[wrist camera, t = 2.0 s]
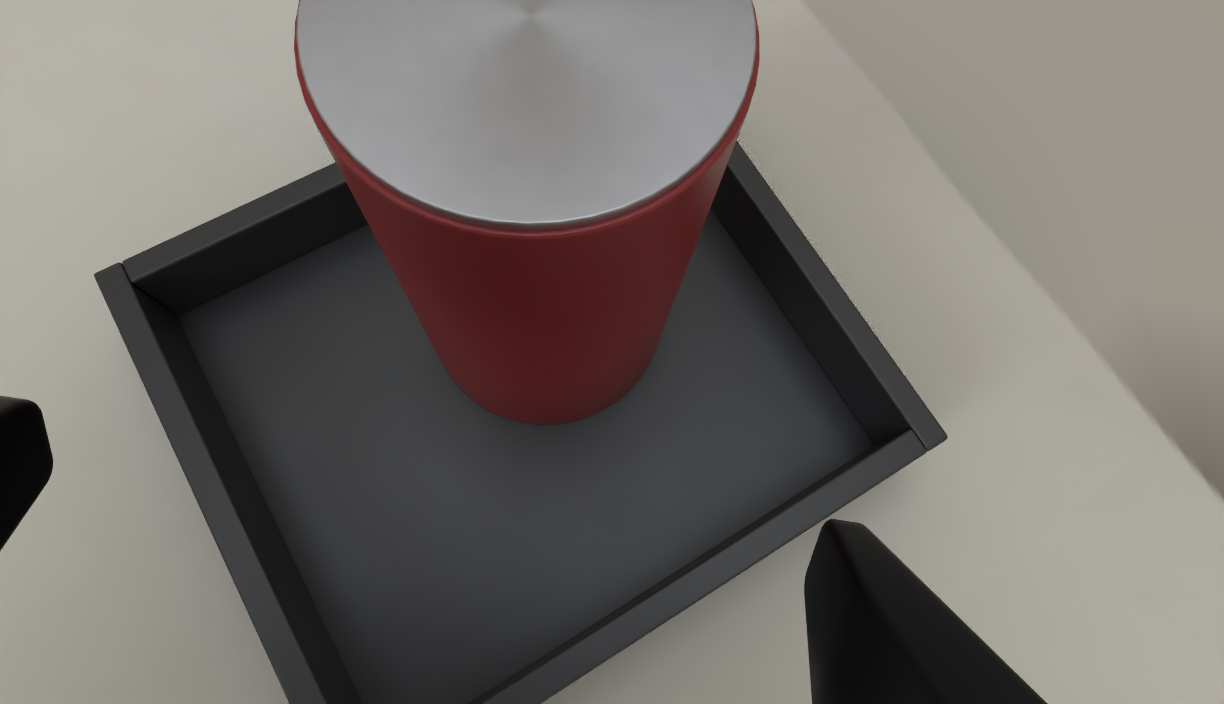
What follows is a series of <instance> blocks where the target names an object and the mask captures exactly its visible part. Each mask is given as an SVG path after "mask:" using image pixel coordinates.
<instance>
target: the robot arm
mask: <svg viewBox="0 0 1224 704" xmlns="http://www.w3.org/2000/svg"><path fill="white" fill-rule="evenodd" d="M52 468H53V457H52V453H51V448H50V444H49V440H48V436H47V432H46V428H45V423H44V419H43V415H42V412H41V409H40V408H39V407H38V405H37V404H36V403H34V402H32V401H30V400H25V399H19V398H12V397H5V396H0V551H1V549H2V548H3V546H4V545H5V543H6V542H7V540H8V539H9V538H10V536H11V535H12V533H13V532H14V530H15V529H16V527H17V526H18V524H19V523H20V522H21V520H22V519H23V517H24V516H25V514H26V513H27V511H28V510H29V508H30V507H31V506H32V504H33V503H34V501H35V500H36V498H37V497H38V495H39V494H40V493H41V491H42V490H43V488H44V487H45V485H46V484H47V482H48V480H49V478H50V476H51V473H52ZM804 595H805V609H806V623H807V637H808V651H809V665H810V679H811V693H812V704H1047V703H1046V702H1045V701H1044V700H1043V699H1042V698H1041V697H1040V696H1039V695H1038V694H1037V693H1036V692H1035V691H1034V690H1033V689H1032V688H1031V687H1030V686H1029V685H1028V684H1027V683H1026V682H1025V681H1024V680H1023V679H1022V678H1021V677H1020V676H1019V675H1018V674H1017V673H1016V672H1014V671H1013V670H1012V669H1011V668H1010V667H1009V666H1008V665H1007V664H1006V663H1005V662H1004V661H1003V660H1002V659H1001V658H1000V657H999V656H998V655H997V654H996V653H995V652H994V651H993V650H992V649H991V648H990V647H989V646H988V645H987V644H986V643H985V642H984V641H983V640H982V639H981V638H980V637H979V636H978V635H977V634H976V633H975V632H973V631H972V630H971V629H970V628H969V627H968V626H967V625H966V624H965V623H964V622H963V621H962V620H961V619H960V618H959V617H958V616H957V615H956V614H955V613H954V612H953V611H952V610H951V609H950V608H949V607H948V606H947V605H946V604H945V603H944V602H943V601H942V600H941V599H940V598H939V597H938V596H937V595H936V594H935V593H934V592H933V591H931V590H930V589H929V588H928V587H927V586H926V585H925V584H924V583H923V582H922V581H921V580H920V579H919V578H918V577H917V576H916V575H915V574H914V573H913V572H912V571H911V570H910V569H909V568H908V567H907V566H906V565H905V564H904V563H903V562H902V561H901V560H900V559H899V558H898V557H897V556H896V555H895V554H894V553H893V552H892V551H891V550H889V549H888V548H887V547H886V546H885V545H884V544H883V543H882V542H881V541H880V540H879V539H878V538H877V537H876V536H875V535H874V534H873V533H872V532H871V531H870V530H869V529H868V528H867V527H866V526H864V525H863V524H860V523H856V522H849V521H842V520H836V519H830V520H828V521H826V522H825V524H824V525H823V527H822V529H821V531H820V534H819V537H818V540H817V543H816V546H815V548H814V551H813V554H812V557H811V560H810V563H809V566H808V569H807V572H806V577H805V585H804Z"/></svg>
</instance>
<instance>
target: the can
mask: <svg viewBox="0 0 1224 704" xmlns="http://www.w3.org/2000/svg"><path fill="white" fill-rule="evenodd" d="M294 52H295V60H296V68H297V76H298V79H299V83H300V86H301V89H302V93H303V96H304V100H305V103H306V105H307V107H308V109H309V111H310V113H311V115H312V117H313V120H314V122H315V124H316V126H317V128H318V130H319V132H320V134H321V136H322V137H323V139H324V141H325V143H326V145H327V147H328V149H329V151H330V153H331V154H332V156H333V158H334V160H335V162H336V164H337V166H338V168H339V170H340V171H341V173H342V175H343V177H344V179H345V181H346V183H347V185H348V187H349V189H350V190H351V192H352V194H353V196H354V198H355V200H356V202H357V204H358V206H359V207H360V209H361V211H362V213H363V215H364V217H365V219H366V221H367V223H368V225H369V226H370V228H371V230H372V232H373V234H374V236H375V238H376V240H377V242H378V243H379V245H380V247H381V249H382V251H383V253H384V255H385V257H386V259H387V260H388V262H389V264H390V266H391V268H392V270H393V272H394V274H395V276H396V278H397V279H398V281H399V283H400V285H401V287H402V289H403V291H404V293H405V295H406V296H407V298H408V300H409V302H410V304H411V306H412V308H413V310H414V312H415V313H416V315H417V317H418V319H419V321H420V323H421V325H422V327H423V329H424V331H425V332H426V334H427V336H428V338H429V340H430V342H431V344H432V346H433V348H434V349H435V351H436V353H437V355H438V357H439V359H440V361H441V363H442V365H443V366H444V368H445V370H446V371H447V373H448V374H449V376H450V377H451V379H452V380H453V381H454V382H455V384H456V385H457V386H458V387H459V388H460V389H461V390H462V391H463V392H464V393H465V394H466V395H467V396H468V397H470V398H471V399H472V400H473V401H474V402H476V403H478V404H479V405H481V406H482V407H484V408H485V409H487V410H489V411H491V412H493V413H495V414H497V415H499V416H502V417H505V418H508V419H511V420H514V421H519V422H524V423H529V424H544V425H548V424H562V423H567V422H572V421H577V420H580V419H583V418H586V417H589V416H592V415H594V414H596V413H598V412H600V411H602V410H604V409H606V408H608V407H609V406H611V405H612V404H614V403H615V402H617V401H618V400H619V399H620V398H622V397H623V396H624V395H625V394H626V393H627V392H628V391H630V389H631V388H632V387H633V386H634V385H635V384H636V383H637V381H638V380H639V379H640V378H641V376H642V375H643V373H644V372H645V370H646V368H647V367H648V365H649V363H650V361H651V359H652V356H653V354H654V352H655V349H656V347H657V344H658V342H659V339H660V336H661V334H662V331H663V329H664V326H665V324H666V321H667V318H668V316H669V313H670V311H671V308H672V305H673V303H674V300H675V298H676V295H677V293H678V290H679V287H680V285H681V282H682V280H683V277H684V274H685V272H686V269H687V267H688V264H689V262H690V259H691V256H692V254H693V251H694V249H695V246H696V243H697V241H698V238H699V236H700V233H701V231H702V228H703V225H704V223H705V220H706V218H707V215H708V212H709V210H710V207H711V205H712V202H713V200H714V197H715V194H716V192H717V189H718V187H719V184H720V181H721V179H722V176H723V174H724V171H725V169H726V166H727V163H728V161H729V158H730V156H731V153H732V150H733V148H734V145H735V143H736V140H737V138H738V135H739V132H740V130H741V127H742V125H743V122H744V119H745V117H746V114H747V112H748V109H749V106H750V102H751V99H752V96H753V93H754V89H755V86H756V80H757V73H758V67H759V31H758V25H757V19H756V13H755V8H754V5H753V2H752V0H299V5H298V10H297V16H296V21H295V40H294Z"/></svg>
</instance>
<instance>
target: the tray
mask: <svg viewBox="0 0 1224 704" xmlns="http://www.w3.org/2000/svg"><path fill="white" fill-rule="evenodd" d="M94 277H95V279H96V281H97V283H98V286H99V288H100V290H101V292H102V294H103V297H104V299H105V301H106V303H107V305H108V307H109V310H110V312H111V314H112V316H113V318H114V321H115V323H116V325H117V327H118V329H119V332H120V334H121V336H122V338H123V340H124V342H125V345H126V347H127V349H128V351H129V353H130V356H131V358H132V360H133V362H134V364H135V367H136V369H137V371H138V373H139V375H140V377H141V380H142V382H143V384H144V386H145V388H146V391H147V393H148V395H149V397H150V399H151V402H152V404H153V406H154V408H155V410H156V412H157V415H158V417H159V419H160V421H161V423H162V426H163V428H164V430H165V432H166V434H167V437H168V439H169V441H170V443H171V445H172V447H173V450H174V452H175V454H176V456H177V458H178V461H179V463H180V465H181V467H182V469H183V471H184V474H185V476H186V478H187V480H188V482H189V485H190V487H191V489H192V491H193V493H194V496H195V498H196V500H197V502H198V504H199V506H200V509H201V511H202V513H203V515H204V517H205V520H206V522H207V524H208V526H209V528H210V531H211V533H212V535H213V537H214V539H215V541H216V544H217V546H218V548H219V550H220V552H221V555H222V557H223V559H224V561H225V563H226V566H227V568H228V570H229V572H230V574H231V576H232V579H233V581H234V583H235V585H236V587H237V590H238V592H239V594H240V596H241V598H242V601H243V603H244V605H245V607H246V609H247V611H248V614H249V616H250V618H251V620H252V622H253V625H254V627H255V629H256V631H257V633H258V636H259V638H260V640H261V642H262V644H263V646H264V649H265V651H266V653H267V655H268V657H269V660H270V662H271V664H272V666H273V668H274V670H275V673H276V675H277V677H278V679H279V681H280V684H281V686H282V688H283V690H284V692H285V695H286V697H287V699H288V701H289V703H290V704H541V703H542V702H544V701H545V700H547V699H548V698H550V697H551V696H553V695H555V694H556V693H558V692H559V691H561V690H562V689H564V688H565V687H567V686H568V685H570V684H571V683H573V682H575V681H576V680H578V679H579V678H581V677H582V676H584V675H585V674H587V673H588V672H590V671H591V670H593V669H595V668H596V667H598V666H599V665H601V664H602V663H604V662H605V661H607V660H608V659H610V658H611V657H613V656H615V655H616V654H618V653H619V652H621V651H622V650H624V649H625V648H627V647H628V646H630V645H631V644H633V643H635V642H636V641H638V640H639V639H641V638H642V637H644V636H645V635H647V634H648V633H650V632H651V631H653V630H655V629H656V628H658V627H659V626H661V625H662V624H664V623H665V622H667V621H668V620H670V619H671V618H673V617H675V616H676V615H678V614H679V613H681V612H682V611H684V610H685V609H687V608H688V607H690V606H691V605H693V604H694V603H696V602H698V601H699V600H701V599H702V598H704V597H705V596H707V595H708V594H710V593H711V592H713V591H714V590H716V589H718V588H719V587H721V586H722V585H724V584H725V583H727V582H728V581H730V580H731V579H733V578H734V577H736V576H738V575H739V574H741V573H742V572H744V571H745V570H747V569H748V568H750V567H751V566H753V565H754V564H756V563H758V562H759V561H761V560H762V559H764V558H765V557H767V556H768V555H770V554H771V553H773V552H774V551H776V550H778V549H779V548H781V547H782V546H784V545H785V544H787V543H788V542H790V541H791V540H793V539H794V538H796V537H798V536H799V535H801V534H802V533H804V532H805V531H807V530H808V529H810V528H811V527H813V526H814V525H816V524H818V523H819V522H821V521H822V520H824V519H825V518H827V517H828V516H830V515H831V514H833V513H834V512H836V511H838V510H839V509H841V508H842V507H844V506H845V505H847V504H848V503H850V502H851V501H853V500H854V499H856V498H858V497H859V496H861V495H862V494H864V493H865V492H867V491H868V490H870V489H871V488H873V487H874V486H876V485H878V484H879V483H881V482H882V481H884V480H885V479H887V478H888V477H890V476H891V475H893V474H894V473H896V472H898V471H899V470H901V469H902V468H904V467H905V466H907V465H908V464H910V463H911V462H913V461H914V460H916V459H918V458H919V457H921V456H922V455H924V454H925V453H926V452H927V451H930V450H931V449H933V448H934V447H936V446H937V445H939V444H940V443H942V442H944V441H945V440H946V439H947V438H948V437H947V434H946V433H945V432H944V430H943V429H942V427H941V426H940V425H939V423H938V422H937V420H936V419H935V418H934V416H933V415H932V413H931V412H930V411H929V409H928V408H927V406H926V405H925V404H924V402H923V401H922V399H921V398H920V397H919V395H918V394H917V392H916V391H915V390H914V388H913V387H912V385H911V384H910V383H909V381H908V380H907V378H906V377H905V376H904V374H903V373H902V371H901V370H900V369H899V367H898V366H897V364H896V363H895V362H894V360H893V359H892V357H891V356H890V355H889V353H888V352H887V351H886V349H885V348H884V346H883V345H882V344H881V342H880V341H879V339H878V338H877V337H876V335H875V334H874V332H873V331H872V330H871V328H870V327H869V325H868V324H867V323H866V321H865V320H864V318H863V317H862V316H861V314H860V313H859V311H858V310H857V309H856V307H855V306H854V304H853V303H852V302H851V300H850V299H849V297H848V296H847V295H846V293H845V292H844V290H843V289H842V288H841V286H840V285H839V283H838V282H837V281H836V279H835V278H834V276H833V275H832V274H831V272H830V271H829V269H828V268H827V267H826V265H825V264H824V262H823V261H822V260H821V258H820V257H819V255H818V254H817V253H816V251H815V250H814V248H813V247H812V246H811V244H810V243H809V241H808V240H807V239H806V237H805V236H804V234H803V233H802V232H801V230H800V229H799V227H798V226H797V225H796V223H795V222H794V220H793V219H792V218H791V216H790V215H789V213H788V212H787V211H786V209H785V208H784V206H783V205H782V204H781V202H780V201H779V199H778V198H777V197H776V195H775V194H774V192H773V191H772V190H771V188H770V187H769V185H768V184H767V183H766V181H765V180H764V178H763V177H762V176H761V174H760V173H759V171H758V170H757V169H756V167H755V166H754V164H753V163H752V162H751V160H750V159H749V157H748V156H747V155H746V153H745V152H744V150H743V149H742V148H741V146H740V145H739V143H738V142H737V141H736V143H735V145H734V148H733V150H732V153H731V156H730V158H729V161H728V163H727V166H726V169H725V171H724V174H723V176H722V179H721V181H720V184H719V187H718V189H717V192H716V194H715V197H714V200H713V202H712V205H711V207H710V210H709V212H708V215H707V218H706V220H705V223H704V225H703V228H702V231H701V233H700V236H699V238H698V241H697V243H696V246H695V249H694V251H693V254H692V256H691V259H690V262H689V264H688V267H687V269H686V272H685V274H684V277H683V280H682V282H681V285H680V287H679V290H678V293H677V295H676V298H675V300H674V303H673V305H672V308H671V311H670V313H669V316H668V318H667V321H666V324H665V326H664V329H663V331H662V334H661V336H660V339H659V342H658V344H657V347H656V349H655V352H654V354H653V356H652V359H651V361H650V363H649V365H648V367H647V368H646V370H645V372H644V373H643V375H642V376H641V378H640V379H639V380H638V381H637V383H636V384H635V385H634V386H633V387H632V388H631V389H630V391H628V392H627V393H626V394H625V395H624V396H623V397H622V398H620V399H619V400H618V401H617V402H615V403H614V404H612V405H611V406H609V407H608V408H606V409H604V410H602V411H600V412H598V413H596V414H594V415H592V416H589V417H586V418H583V419H580V420H577V421H572V422H567V423H562V424H548V425H544V424H529V423H524V422H519V421H514V420H511V419H508V418H505V417H502V416H499V415H497V414H495V413H493V412H491V411H489V410H487V409H485V408H484V407H482V406H481V405H479V404H478V403H476V402H474V401H473V400H472V399H471V398H470V397H468V396H467V395H466V394H465V393H464V392H463V391H462V390H461V389H460V388H459V387H458V386H457V385H456V384H455V382H454V381H453V380H452V379H451V377H450V376H449V374H448V373H447V371H446V370H445V368H444V366H443V365H442V363H441V361H440V359H439V357H438V355H437V353H436V351H435V349H434V348H433V346H432V344H431V342H430V340H429V338H428V336H427V334H426V332H425V331H424V329H423V327H422V325H421V323H420V321H419V319H418V317H417V315H416V313H415V312H414V310H413V308H412V306H411V304H410V302H409V300H408V298H407V296H406V295H405V293H404V291H403V289H402V287H401V285H400V283H399V281H398V279H397V278H396V276H395V274H394V272H393V270H392V268H391V266H390V264H389V262H388V260H387V259H386V257H385V255H384V253H383V251H382V249H381V247H380V245H379V243H378V242H377V240H376V238H375V236H374V234H373V232H372V230H371V228H370V226H369V225H368V223H367V221H366V219H365V217H364V215H363V213H362V211H361V209H360V207H359V206H358V204H357V202H356V200H355V198H354V196H353V194H352V192H351V190H350V189H349V187H348V185H347V183H346V181H345V179H344V177H343V175H342V173H341V171H340V170H339V168H338V166H337V164H336V162H335V163H333V164H331V165H329V166H327V167H325V168H322V169H320V170H318V171H316V172H314V173H312V174H309V175H307V176H305V177H303V178H301V179H299V180H296V181H294V182H292V183H290V184H288V185H286V186H284V187H281V188H279V189H277V190H275V191H273V192H271V193H268V194H266V195H264V196H262V197H260V198H258V199H256V200H253V201H251V202H249V203H247V204H245V205H243V206H240V207H238V208H236V209H234V210H232V211H230V212H227V213H225V214H223V215H221V216H219V217H217V218H215V219H212V220H210V221H208V222H206V223H204V224H202V225H199V226H197V227H195V228H193V229H191V230H189V231H187V232H184V233H182V234H180V235H178V236H176V237H174V238H171V239H169V240H167V241H165V242H163V243H161V244H158V245H156V246H154V247H152V248H150V249H148V250H146V251H143V252H141V253H139V254H137V255H135V256H133V257H130V258H128V259H126V260H124V261H123V262H122V263H116V264H114V265H112V266H110V267H108V268H106V269H104V270H101V271H99V272H97V273H95V274H94Z"/></svg>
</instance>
